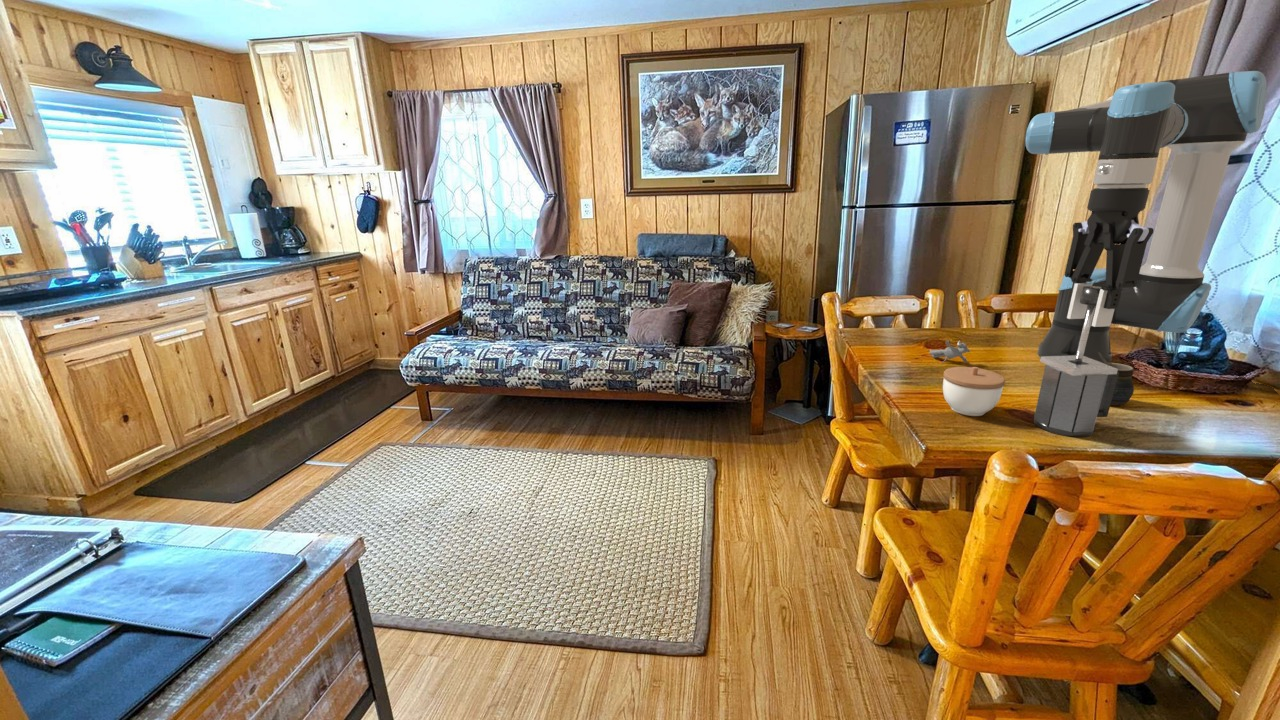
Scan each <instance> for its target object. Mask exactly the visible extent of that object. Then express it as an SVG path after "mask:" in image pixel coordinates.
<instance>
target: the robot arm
mask: <svg viewBox="0 0 1280 720" xmlns="http://www.w3.org/2000/svg"><path fill="white" fill-rule="evenodd" d="M1267 86H1268V85H1267V78H1266V76H1265V74H1264V73H1263V72H1261V71H1259V70H1249V71H1248V70H1247V71H1246V70H1245V71H1231V72H1230V71H1229V72H1224V73H1216V74H1215V73H1214V74H1208V75H1200V76H1193V77H1185V78H1184V77H1183V78H1176V79H1165V80H1160V81H1155V82H1144V83H1135V84H1130V85H1125V86H1122V87H1120V88H1118V89H1116V90H1115V92H1114V93H1113V95H1112V96H1110V97H1108V98H1107V99H1105V100H1104V101H1100V102H1097V103H1093V104H1088V105H1084V106H1080V107H1076V108H1072V109H1068V110H1062V111H1061V110H1060V111H1050V112H1042V113H1038V114H1036V115H1035V116H1033V118H1032V119H1031V120H1030V122H1029V124H1028V126H1027V128H1026V132H1025V133H1026V134H1025V147H1026V150H1027V151H1028V153H1030V154H1032V155H1042V154H1043V155H1048V156H1049V154H1051V155H1052V154H1053V155H1054V154H1069V153H1072V154H1073V153H1084V152H1085V153H1086V152H1090V153H1092V152H1099V156H1098V159H1097V164H1096V168H1095V173H1094V176H1093V182H1092V183H1093V185H1095V186H1096V187H1095V188H1093V189H1092V190H1090V194H1089V197H1088V202H1087V207H1086V208H1087V210H1088V211H1090V212H1091V213H1090V215H1089V217H1088V218H1087V220H1085V221H1083V222H1074V223H1073V225H1072V240H1071V244H1070V249H1069V252H1068V257H1067V262H1066V265H1065V271H1064V275H1063V277H1062V280H1061V284H1060V287H1059V288H1058V294H1057V300H1056V305H1055V309H1054V314H1053V318H1052V323H1051V327H1050V328H1049V330H1048V331H1047V333H1046V334H1045V336H1044V338H1043V339H1042V341H1041V342H1040V343H1039V345H1038V349H1037V355H1038V356H1039V357H1041V356H1072V355H1076V354H1077V350H1078V346H1079V342H1080V338H1081V333H1082V329H1083V325H1084V321H1085V317H1086V313H1087V308H1088V305H1085V304H1081V303H1080V298H1081V294H1082V290H1083V287H1084V286H1098V287H1101V288H1102V289H1100V293H1099V297H1098V301H1097V305H1096V306H1095V310H1094V314H1093V318H1092V322H1091V326H1090V330H1089V334H1088V338H1087V342H1086V346H1085V351H1084V355H1083V356H1085V357H1088V358H1091V359H1093V360H1096V361H1099V362H1101V363H1104V362H1103V360H1102V359H1101V357H1100V356H1099V354H1098V352H1100V353H1101V355H1102V356H1103V357H1104V359H1105V360H1106V362H1107V363H1112V362H1111V361H1112V357H1113V353H1112V351H1111V348H1112V347H1111V340H1110V335H1109V333H1110V330H1111V325H1112V324H1113V325H1116V326H1117V325H1118V326H1125V327H1131V328H1138V329H1146V330H1151V331H1156V332H1157V333H1159V332H1163V333H1165V332H1166V333H1174V334H1178V333H1179V334H1180V333H1184V332H1187V331H1188V330H1189V329H1190V328H1191V327H1192V326H1193V324H1194V323H1195V322H1196V321H1197V318H1198V316H1199V315H1200V314H1201V311H1202V309H1203V308H1204V306H1205V304H1206V302H1207V301H1208V300H1207V299H1208V298H1209V295H1210V291H1211V289H1212V286H1211V284H1208V283H1207V282H1203V281H1204V279H1205V273H1204V272H1203V271H1202V270H1201V269H1200V268H1199V261H1200V259H1201V255H1202V252H1203V249H1204V245H1205V242H1206V238H1207V235H1208V233H1209V228H1210V225H1211V222H1212V218H1213V215H1214V211H1215V208H1216V204H1217V201H1218V197H1219V194H1220V190H1221V187H1222V185H1223V180H1224V177H1225V174H1226V170H1227V167H1228V164H1229V161H1230V157H1231V154H1232V152H1233V151H1234V150H1236V149H1237V148H1238V147H1240V146H1241V145H1243V144H1244V143H1245V142H1246V138H1247V135H1248V134H1254V133H1256V132H1258V131H1259V130H1260V129H1261V126H1262V122H1263V120H1264V116H1265V110H1266V103H1267ZM1166 147H1168V148H1169V149H1170V150H1171V151H1172V152H1173V154H1174V156H1173V159H1172V163H1171V167H1170V170H1169V174H1168V178H1167V182H1166V185H1165V189H1164V193H1163V197H1162V200H1161V204H1160V209H1159V212H1158V215H1157V220H1156V222H1155V228H1153V227H1144V226H1142V225H1140V221H1139V213H1140V212H1143V211H1144V210H1145V209H1146V206H1147V202H1148V199H1149V195H1150V189H1149V188H1148V187H1147V185H1150V184H1152V183H1153V180H1154V176H1155V171H1156V168H1157V164H1158V160H1159V155H1160V150H1161V149H1162V148H1166ZM1151 237H1152V238H1151ZM1150 239H1151V244H1150V246H1149V249H1148V254H1147V258H1146V262H1145V263H1144V264H1143V259H1144V257H1145V253H1146V249H1147V245H1148V242H1149V240H1150ZM1104 250H1105V252H1106V256H1105V257H1106V260H1105V262H1106V263H1105V264H1106V265H1105V268H1096V267H1097V264H1098V262H1099V260H1100V258H1101V256H1102V254H1103V251H1104ZM1142 264H1143V265H1142Z"/></svg>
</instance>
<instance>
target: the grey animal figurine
mask: <svg viewBox="0 0 1280 720" xmlns="http://www.w3.org/2000/svg"><path fill="white" fill-rule="evenodd" d="M945 345H946V346H947V347H946V348H945V349H943V348H942V349H929V355H931V356H932V358H933V359H937V358H944V357H945V359H944V360H943V361H942V362H941V364H943V363H944V362H946V361H947V360H952V359H955V358H957V357H959V358H960V359H961V360H962V361H963V363H967V362H968V359H967V358H966V356H964V355H963V354H966V353H971V350H970V349H969V348H968V345H967V344H966V343H965V342H961V340H959V341H957V344H956V346H957V347H955V346H953V345H951V344H950V340H945Z"/></svg>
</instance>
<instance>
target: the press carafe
mask: <svg viewBox="0 0 1280 720" xmlns="http://www.w3.org/2000/svg"><path fill="white" fill-rule="evenodd" d="M1075 358H1076V355H1072V356H1040V360H1039V362H1040V363H1042V364H1045V365H1044V366H1045V367H1044V371H1043V374H1042V375H1043V376H1042V380H1041V384H1040V385H1041V386H1040V388H1039V389H1040V390H1039V393H1038V396H1037V397H1038V398H1037V402H1036V407H1035V411H1034V417H1033V423H1034V425H1035V426H1037V427H1038V428H1040V429H1042V430H1044V431H1046V432H1050V433H1051V434H1055V435H1059V436H1065V437H1069V438H1086V437H1090V436H1092V435H1093V434H1094V433H1095V432H1094V431H1095V425H1096V422H1097V419H1098V418H1107V417H1108V414H1109V411H1110V406H1111V405H1110V404H1111V401H1112V397H1113V393H1114V389H1115V386H1116V382H1117V378H1118V374H1119V372H1117V371H1118V369H1117V368H1114V367H1112V366H1109V365H1106V364H1104V363H1101V362H1099V361H1096V360H1093V359H1091V358H1088V357H1085V356H1083V359H1082V363H1081V365H1076V364H1074V363H1075Z"/></svg>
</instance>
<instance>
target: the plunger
mask: <svg viewBox="0 0 1280 720" xmlns="http://www.w3.org/2000/svg"><path fill="white" fill-rule="evenodd" d="M1100 289H1102V288H1101V287H1098V286H1084V287H1083V290H1082V294H1081V298H1080V303H1081V304H1085V305H1088V308H1087V313H1086V317H1085V321H1084V325H1083V329H1082V333H1081V338H1080V342H1079V346H1078V350H1077V354H1076V358H1075V363H1074V364H1076V365H1081V363H1082V359H1083V355H1084V351H1085V346H1086V342H1087V338H1088V334H1089V330H1090V326H1091V322H1092V318H1093V314H1094V310H1095V306H1096V305H1097V301H1098V297H1099V293H1100Z"/></svg>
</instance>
